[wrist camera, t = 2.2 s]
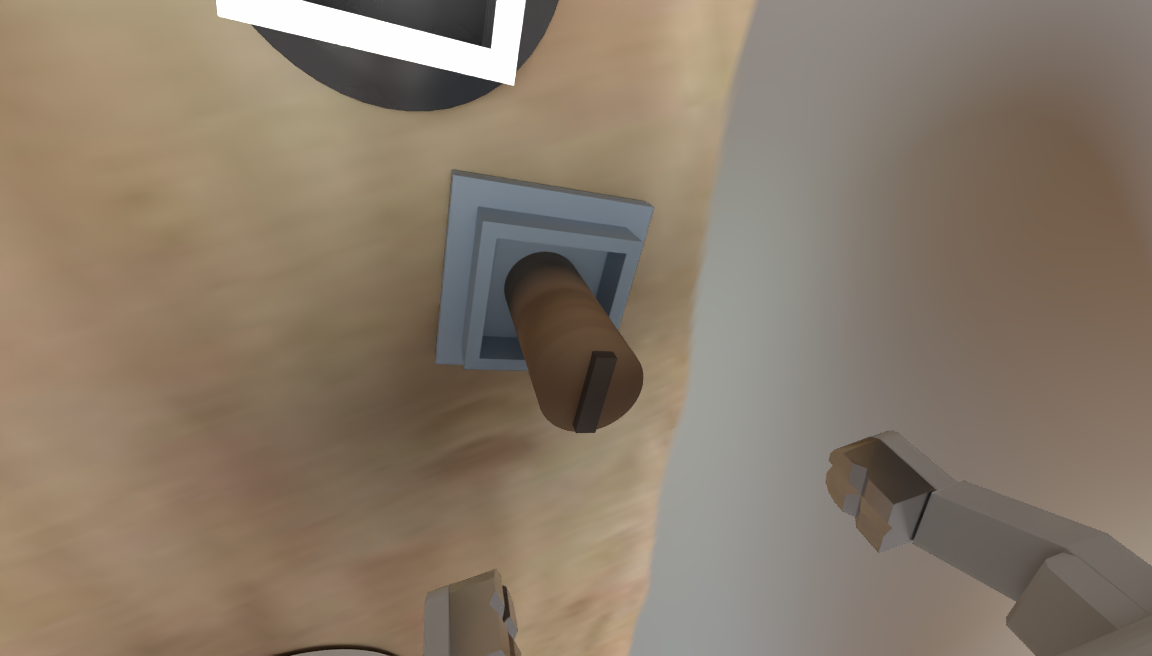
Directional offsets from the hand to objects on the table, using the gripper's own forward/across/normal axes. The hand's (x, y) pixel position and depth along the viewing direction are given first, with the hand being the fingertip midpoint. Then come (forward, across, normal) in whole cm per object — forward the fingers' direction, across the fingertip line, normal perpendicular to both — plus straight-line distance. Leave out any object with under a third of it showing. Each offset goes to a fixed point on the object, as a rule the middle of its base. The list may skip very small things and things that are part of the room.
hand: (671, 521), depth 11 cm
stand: (+14, +1, 0) cm, 15 cm away
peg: (+14, +1, 0) cm, 14 cm away
